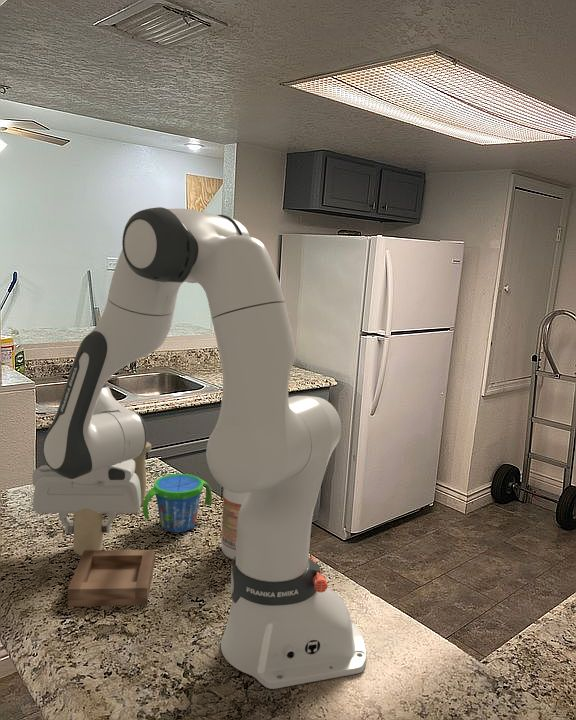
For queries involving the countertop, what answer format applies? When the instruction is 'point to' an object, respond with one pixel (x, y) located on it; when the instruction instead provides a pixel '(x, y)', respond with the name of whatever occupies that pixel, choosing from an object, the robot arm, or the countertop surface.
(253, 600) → the robot arm
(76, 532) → the candle
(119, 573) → the brown shallow square tray
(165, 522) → the snack cup
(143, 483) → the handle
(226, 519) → the fruit juice
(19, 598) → the countertop surface
